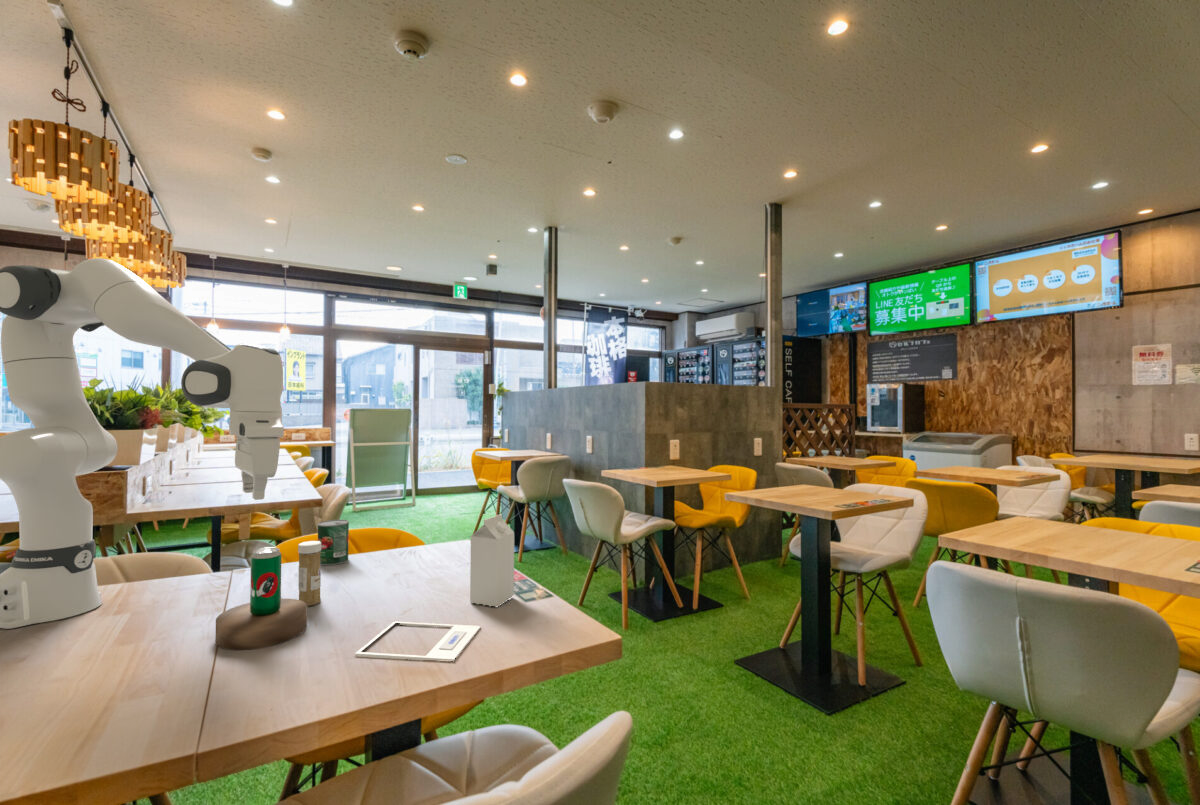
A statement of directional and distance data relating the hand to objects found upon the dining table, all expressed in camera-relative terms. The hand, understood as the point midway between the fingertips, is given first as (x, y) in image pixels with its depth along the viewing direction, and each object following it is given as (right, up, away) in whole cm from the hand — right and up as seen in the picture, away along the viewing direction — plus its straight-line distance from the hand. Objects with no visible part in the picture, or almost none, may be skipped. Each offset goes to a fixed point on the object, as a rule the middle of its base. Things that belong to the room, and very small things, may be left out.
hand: (253, 495), depth 110 cm
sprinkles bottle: (+4, -26, +13) cm, 30 cm away
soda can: (+4, -22, -3) cm, 23 cm away
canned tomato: (-6, -26, +45) cm, 53 cm away
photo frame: (+36, -27, -6) cm, 45 cm away
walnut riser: (+4, -26, -3) cm, 26 cm away
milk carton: (+45, -27, +15) cm, 54 cm away
